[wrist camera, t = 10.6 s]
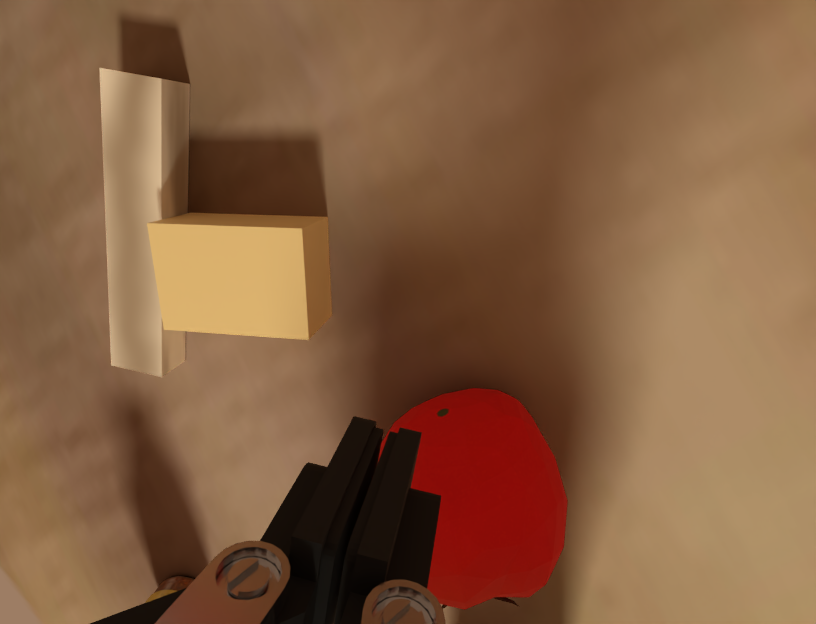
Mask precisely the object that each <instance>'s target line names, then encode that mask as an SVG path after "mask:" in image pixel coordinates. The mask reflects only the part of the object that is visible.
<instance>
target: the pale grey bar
mask: <svg viewBox="0 0 816 624" xmlns="http://www.w3.org/2000/svg"><path fill="white" fill-rule="evenodd" d="M100 92H101V117H102V143H103V168H104V194H105V219H106V245H107V270H108V296H109V321H110V347H111V365H112V366H117V367H121V368H125V369H129V370H133V371H137V372H142V373H146V374H150V375H154V376H158V377H163V376H164V375H166V374H167V373H169V372H170V371H171V370H173V369H174V368H176V367H177V366H178V365H180V364H181V363H183V362H184V361H185V355H186V331H175V330H164V328H163V322H162V315H161V309H160V303H159V297H158V290H157V284H156V278H155V271H154V265H153V259H152V252H151V246H150V240H149V234H148V227H147V223H150V222H154V221H158V220H162V219H166V218H171V217H175V216H179V215H183V214H187V213H188V172H189V111H190V84H188V83H182V82H177V81H171V80H166V79H161V78H155V77H149V76H143V75H138V74H132V73H126V72H121V71H115V70H109V69H104V68H100Z"/></svg>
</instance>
